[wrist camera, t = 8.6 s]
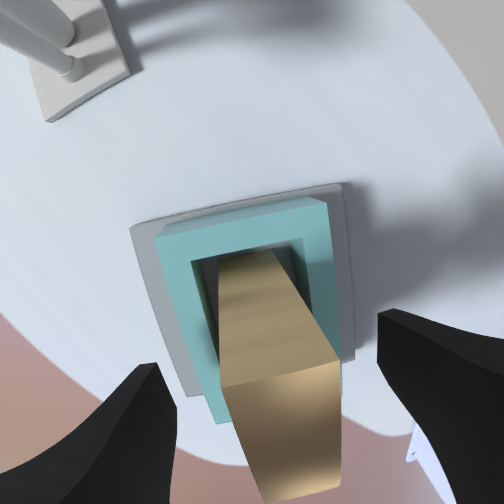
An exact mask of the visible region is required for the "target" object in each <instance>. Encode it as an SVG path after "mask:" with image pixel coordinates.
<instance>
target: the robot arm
mask: <svg viewBox="0 0 504 504" xmlns="http://www.w3.org/2000/svg"><path fill="white" fill-rule="evenodd" d="M377 364H378V365H379V367H380V369H381V371H382V373H383V375H384V377H385V379H386V381H387V382H388V384H389V386H390V387H391V389H392V390H393V391H394V393H395V394H396V395H397V397H398V398H399V400H400V401H401V402H402V404H403V405H404V406H405V408H406V409H407V410H408V412H409V413H410V414H411V416H412V417H413V418H414V420H415V421H416V424H415V428H414V431H413V435H412V439H411V443H410V446H409V450H408V453H407V456H406V461H407V462H411V461H413V460H416V459H417V460H418V462H419V463H420V465H421V466H422V468H423V470H424V471H425V473H426V474H427V476H428V478H429V479H430V481H431V482H432V484H433V486H434V487H435V489H436V490H437V492H438V494H439V496H440V497H441V499H442V500H443V501H444V502H445V503H446V504H504V339H500V338H495V337H489V336H483V335H479V334H475V333H471V332H467V331H463V330H460V329H456V328H453V327H450V326H447V325H444V324H441V323H438V322H435V321H432V320H429V319H426V318H423V317H420V316H417V315H414V314H411V313H408V312H405V311H402V310H398V309H394V308H393V309H390V310H387V311H384V312H380V313H378V340H377ZM176 438H177V407H176V405H175V403H174V401H173V398H172V396H171V394H170V392H169V390H168V387H167V385H166V383H165V380H164V378H163V376H162V374H161V371H160V369H159V366H158V364H157V362H155V363H148V364H140V365H139V366H137V367H136V368H135V369H134V370H133V371H132V372H131V373H130V374H129V375H128V377H127V378H126V379H125V380H124V381H123V382H122V383H121V384H120V385H119V386H118V387H117V388H116V389H115V391H114V392H113V393H112V394H111V395H110V396H109V397H108V398H107V399H106V400H105V401H104V402H103V403H102V404H101V405H100V406H99V407H98V408H97V409H96V410H95V411H94V412H93V413H92V414H91V415H90V416H89V417H88V418H87V419H86V420H85V421H84V422H83V423H81V424H80V425H79V426H78V427H77V428H76V429H75V430H73V431H72V432H71V433H70V434H69V435H67V436H66V437H64V438H63V439H62V440H61V441H59V442H58V443H56V444H55V445H54V446H52V447H50V448H49V449H47V450H46V451H44V452H42V453H41V454H39V455H38V456H36V457H35V458H33V459H31V460H29V461H27V462H25V463H23V464H22V465H20V466H17V467H15V468H13V469H11V470H8V471H6V472H4V473H1V474H0V504H169V503H170V502H169V498H170V485H171V477H172V469H173V460H174V453H175V446H176Z"/></svg>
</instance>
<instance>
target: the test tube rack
mask: <svg viewBox="0 0 504 504" xmlns="http://www.w3.org/2000/svg"><path fill="white" fill-rule="evenodd" d="M0 44H2V45H4V46H6V47H9V48H11V49H13V50H15V51H17V52H19V53H21V54H23V55H25V56H27V59H28V64H29V68H30V72H31V76H32V80H33V84H34V88H35V91H36V95H37V98H38V102H39V105H40V109H41V112H42V115H43V118H44V121H45V122H49V123H53V122H54V121H56V120H57V119H59V118H60V117H62V116H63V115H65V114H66V113H68V112H69V111H71V110H72V109H74V108H75V107H77V106H78V105H80V104H81V103H83V102H84V101H86V100H88V99H89V98H91V97H93V96H94V95H96V94H98V93H99V92H101V91H103V90H104V89H106V88H108V87H110V86H112V85H113V84H115V83H117V82H119V81H121V80H122V79H124V78H126V77H128V76H130V75H131V73H130V70H129V67H128V65H127V62H126V60H125V57H124V55H123V52H122V50H121V47H120V45H119V42H118V39H117V37H116V34H115V32H114V29H113V26H112V24H111V21H110V18H109V16H108V13H107V10H106V8H105V5H104V2H103V0H0Z"/></svg>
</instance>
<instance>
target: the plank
mask: <svg viewBox="0 0 504 504" xmlns="http://www.w3.org/2000/svg"><path fill="white" fill-rule="evenodd" d="M218 292H219V354H220V388H221V391H222V394H223V396H224V399H225V402H226V405H227V408H228V411H229V414H230V416H231V419H232V422H233V425H234V427H235V430H236V433H237V436H238V438H239V441H240V443H241V446H242V449H243V451H244V454H245V456H246V459H247V462H248V464H249V467H250V469H251V472H252V474H253V477H254V479H255V481H256V484H257V486H258V489H259V491H260V493H261V495H262V498H263V500H264V503H265V504H267V503H272V502H278V501H283V500H287V499H292V498H297V497H301V496H305V495H309V494H313V493H317V492H320V491H324V490H328V489H331V488H334V487H338V486H340V478H341V380H340V360H339V358H338V356H337V355H336V353H335V351H334V350H333V348H332V346H331V345H330V343H329V342H328V340H327V338H326V337H325V335H324V333H323V332H322V330H321V328H320V327H319V325H318V324H317V322H316V320H315V319H314V317H313V315H312V314H311V312H310V311H309V309H308V307H307V306H306V304H305V303H304V301H303V299H302V298H301V296H300V294H299V293H298V291H297V290H296V288H295V286H294V285H293V283H292V282H291V280H290V278H289V277H288V275H287V274H286V272H285V270H284V269H283V267H282V266H281V264H280V262H279V261H278V259H277V258H276V256H275V254H274V253H273V251H272V250H271V248H270V249H265V250H260V251H255V252H251V253H246V254H241V255H236V256H232V257H227V258H222V259H218Z"/></svg>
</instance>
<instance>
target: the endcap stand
mask: <svg viewBox="0 0 504 504" xmlns="http://www.w3.org/2000/svg"><path fill="white" fill-rule="evenodd" d="M129 231H130V234H131V238H132V242H133V245H134V249H135V253H136V256H137V260H138V263H139V267H140V270H141V273H142V277H143V280H144V283H145V286H146V289H147V293H148V296H149V299H150V302H151V305H152V308H153V311H154V314H155V317H156V320H157V322H158V325H159V328H160V331H161V334H162V336H163V339H164V342H165V345H166V347H167V350H168V353H169V355H170V358H171V360H172V363H173V365H174V368H175V370H176V373H177V375H178V378H179V380H180V383H181V385H182V388H183V390H184V392H185V395H186V397H193V396H200V395H204V396H205V398H206V401H207V403H208V406H209V408H210V411H211V413H212V416H213V418H214V421H215V423H216V424H222V423H228V422H232V419H231V416H230V414H229V411H228V408H227V405H226V402H225V399H224V396H223V394H222V391H221V388H220V354H219V292H218V259H222V258H227V257H232V256H236V255H241V254H246V253H251V252H255V251H260V250H265V249H270V248H271V250H272V251H273V253H274V254H275V256H276V258H277V259H278V261H279V262H280V264H281V266H282V267H283V269H284V270H285V272H286V274H287V275H288V277H289V278H290V280H291V282H292V283H293V285H294V286H295V288H296V290H297V291H298V293H299V294H300V296H301V298H302V299H303V301H304V303H305V304H306V306H307V307H308V309H309V311H310V312H311V314H312V315H313V317H314V319H315V320H316V322H317V324H318V325H319V327H320V328H321V330H322V332H323V333H324V335H325V337H326V338H327V340H328V342H329V343H330V345H331V346H332V348H333V350H334V351H335V353H336V355H337V356H338V358H339V360H340V380H341V396H342V365H341V364H343V363H346V362H349V361H353V360H355V335H354V311H353V293H352V279H351V266H350V255H349V244H348V235H347V226H346V217H345V209H344V201H343V194H342V187H341V185H339V184H330V185H324V186H318V187H312V188H306V189H300V190H295V191H289V192H284V193H279V194H273V195H268V196H263V197H258V198H253V199H248V200H243V201H238V202H233V203H228V204H223V205H219V206H214V207H209V208H205V209H200V210H196V211H191V212H187V213H182V214H178V215H174V216H169V217H165V218H161V219H157V220H153V221H148V222H144V223H140V224H136V225H133V226H132V227H131V228H129Z"/></svg>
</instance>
